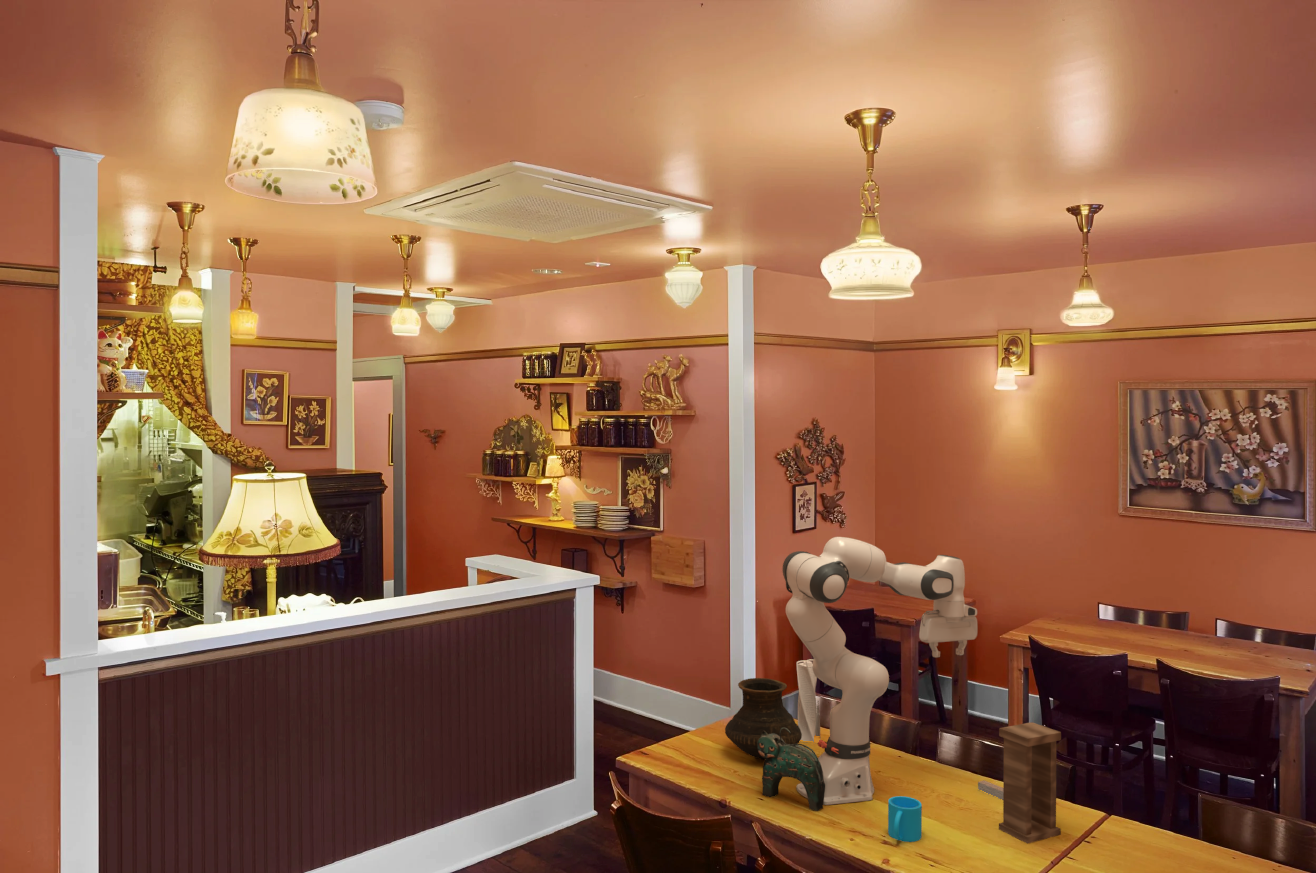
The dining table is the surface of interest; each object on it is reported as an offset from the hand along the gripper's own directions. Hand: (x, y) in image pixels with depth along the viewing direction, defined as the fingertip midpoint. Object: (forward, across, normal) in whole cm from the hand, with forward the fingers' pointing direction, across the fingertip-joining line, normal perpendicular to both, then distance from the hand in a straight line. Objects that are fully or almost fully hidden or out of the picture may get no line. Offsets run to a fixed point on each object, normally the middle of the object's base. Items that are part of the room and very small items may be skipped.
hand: (948, 655), depth 260 cm
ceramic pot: (+37, -38, +40) cm, 67 cm away
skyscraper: (+37, -16, +46) cm, 61 cm away
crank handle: (+37, +7, -18) cm, 42 cm away
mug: (+38, -39, -25) cm, 60 cm away
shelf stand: (+37, -7, -36) cm, 52 cm away
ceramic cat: (+38, -51, +6) cm, 64 cm away
